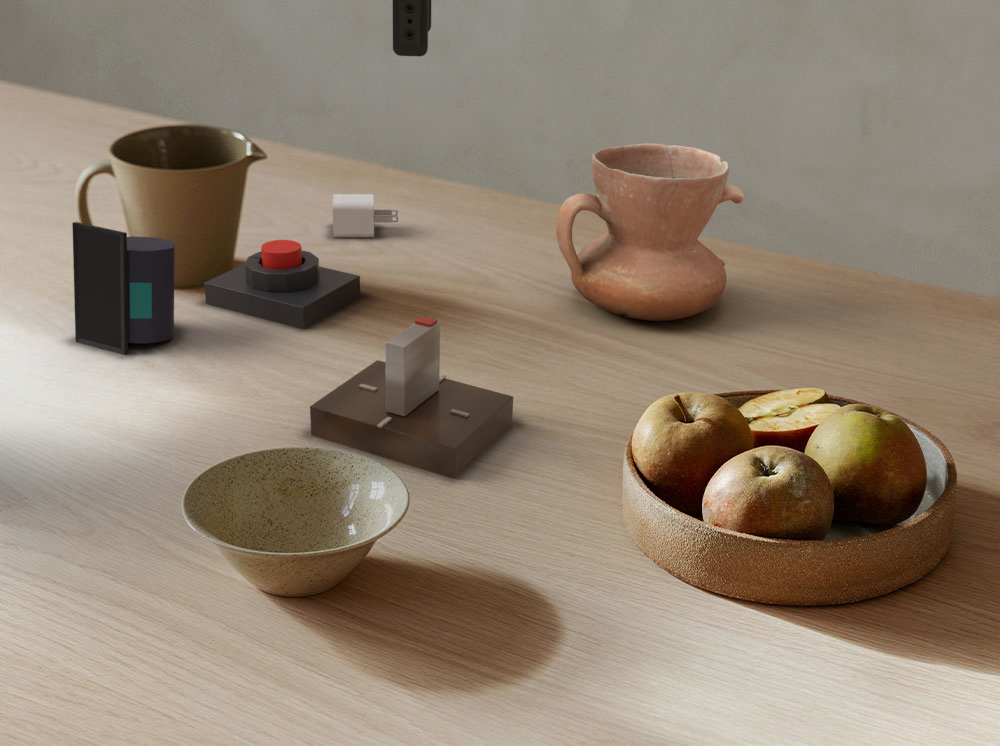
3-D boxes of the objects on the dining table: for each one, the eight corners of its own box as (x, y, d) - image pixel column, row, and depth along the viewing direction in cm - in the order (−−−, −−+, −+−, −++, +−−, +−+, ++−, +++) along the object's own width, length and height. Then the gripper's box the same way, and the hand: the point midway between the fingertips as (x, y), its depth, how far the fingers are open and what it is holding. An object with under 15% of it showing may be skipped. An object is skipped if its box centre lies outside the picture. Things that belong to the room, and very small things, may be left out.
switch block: (205, 304, 102) (202, 264, 100) (266, 274, 109) (264, 236, 107) (303, 330, 97) (302, 288, 95) (360, 297, 104) (359, 257, 103)
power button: (254, 266, 101) (252, 248, 100) (278, 254, 104) (277, 237, 103) (286, 274, 99) (285, 255, 98) (309, 262, 102) (309, 244, 101)
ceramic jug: (697, 272, 114) (714, 135, 107) (760, 329, 101) (783, 178, 95) (529, 282, 110) (536, 140, 103) (572, 342, 97) (583, 185, 91)
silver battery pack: (404, 417, 78) (404, 344, 76) (385, 411, 79) (384, 338, 77) (439, 389, 82) (440, 319, 80) (421, 384, 83) (421, 314, 81)
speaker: (107, 362, 90) (100, 237, 86) (74, 343, 93) (66, 222, 90) (190, 345, 95) (187, 227, 91) (156, 327, 98) (152, 213, 95)
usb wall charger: (334, 227, 122) (333, 192, 120) (397, 227, 123) (397, 192, 121) (333, 239, 119) (332, 203, 117) (398, 239, 119) (398, 204, 118)
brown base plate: (310, 436, 81) (308, 404, 79) (378, 387, 88) (377, 357, 87) (453, 481, 76) (454, 447, 75) (512, 424, 83) (514, 393, 82)
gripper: (361, -229, 73) (365, 24, 80) (339, -240, 61) (347, 62, 68) (474, -224, 74) (468, 27, 81) (476, -234, 61) (469, 65, 68)
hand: (413, 43), depth 74 cm, fingers open, 8 cm apart
